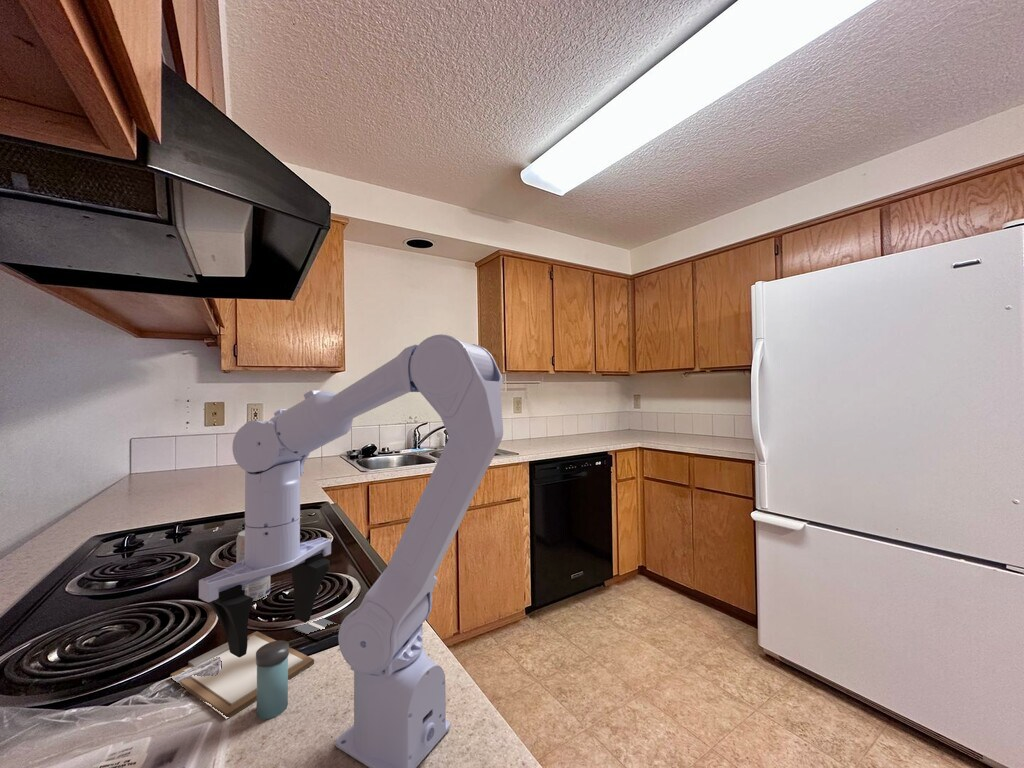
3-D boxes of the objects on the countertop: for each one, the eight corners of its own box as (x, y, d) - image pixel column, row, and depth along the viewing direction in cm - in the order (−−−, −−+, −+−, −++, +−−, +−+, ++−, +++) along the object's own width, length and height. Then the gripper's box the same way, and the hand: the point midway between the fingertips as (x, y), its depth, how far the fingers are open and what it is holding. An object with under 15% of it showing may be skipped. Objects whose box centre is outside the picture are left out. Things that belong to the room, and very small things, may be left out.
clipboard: (314, 663, 56) (314, 655, 56) (226, 719, 47) (226, 709, 47) (256, 635, 63) (256, 627, 63) (170, 678, 54) (170, 670, 54)
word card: (341, 628, 65) (341, 625, 65) (318, 641, 61) (318, 638, 61) (317, 618, 68) (317, 615, 68) (294, 630, 64) (294, 627, 64)
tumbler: (294, 704, 49) (295, 645, 49) (266, 724, 46) (266, 661, 46) (278, 694, 51) (278, 637, 51) (249, 713, 48) (249, 652, 48)
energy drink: (264, 587, 79) (264, 524, 79) (275, 595, 76) (275, 530, 76) (231, 598, 75) (232, 532, 75) (242, 607, 71) (242, 538, 72)
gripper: (308, 501, 57) (307, 599, 57) (185, 533, 44) (183, 659, 44) (341, 508, 54) (341, 612, 53) (218, 544, 41) (217, 681, 41)
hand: (272, 635), depth 49 cm, fingers open, 7 cm apart
